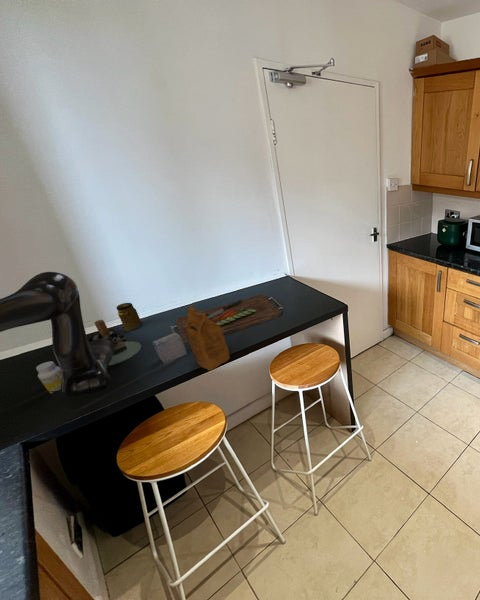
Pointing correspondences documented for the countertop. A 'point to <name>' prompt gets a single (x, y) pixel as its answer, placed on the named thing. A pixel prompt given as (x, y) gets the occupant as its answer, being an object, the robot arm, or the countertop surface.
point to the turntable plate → (126, 352)
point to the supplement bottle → (50, 376)
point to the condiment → (129, 317)
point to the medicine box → (169, 347)
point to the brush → (104, 330)
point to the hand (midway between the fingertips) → (107, 331)
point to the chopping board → (236, 315)
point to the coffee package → (206, 340)
